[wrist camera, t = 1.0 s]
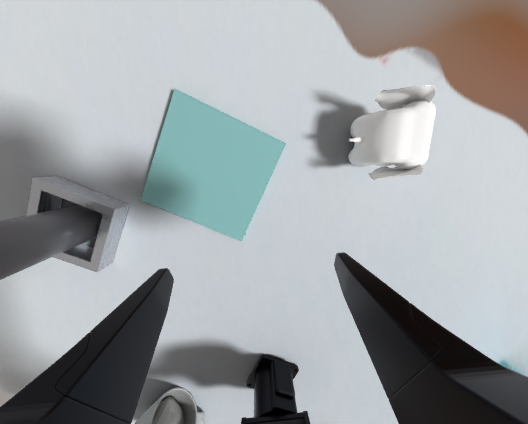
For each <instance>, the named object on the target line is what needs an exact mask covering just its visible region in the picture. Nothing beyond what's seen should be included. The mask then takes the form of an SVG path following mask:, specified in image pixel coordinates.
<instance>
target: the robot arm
mask: <svg viewBox="0 0 528 424" xmlns="http://www.w3.org/2000/svg"><path fill="white" fill-rule="evenodd" d="M334 266H335V270H336V273H337V276H338V280H339V283H340V286H341V289H342V292H343V295H344V298H345V300H346V302H347V305H348V307H349V309H350V312H351V314H352V316H353V319H354V321H355V323H356V325H357V328H358V330H359V332H360V335H361V337H362V339H363V342H364V344H365V346H366V349H367V351H368V353H369V355H370V358H371V360H372V362H373V365H374V367H375V369H376V372H377V374H378V376H379V378H380V381H381V383H382V385H383V388H384V390H385V392H386V395H387V397H388V399H389V402H390V404H391V406H392V409H393V411H394V413H395V416H396V418H397V420H398V423H399V424H528V377H526V376H524V375H521V374H519V373H516V372H514V371H512V370H510V369H508V368H506V367H504V366H502V365H500V364H498V363H497V362H495V361H493V360H492V359H490V358H488V357H487V356H485V355H484V354H482V353H481V352H479V351H478V350H476V349H475V348H473V347H472V346H470V345H469V344H468V343H466V342H465V341H463V340H462V339H460V338H459V337H457V336H456V335H454V334H453V333H451V332H450V331H448V330H447V329H445V328H444V327H442V326H441V325H440V324H438V323H437V322H435V321H434V320H432V319H431V318H430V317H428V316H427V315H426V314H424V313H423V312H422V311H420V310H419V309H418V308H416V307H415V306H414V305H412V304H411V303H409V302H408V301H407V300H406V299H405V298H403V297H402V296H401V295H399V294H398V293H397V292H395V291H394V290H393V289H392V288H390V287H389V286H388V285H386V284H385V283H384V282H383V281H381V280H380V279H379V278H377V277H376V276H375V275H373V274H372V273H371V272H370V271H368V270H367V269H366V268H364V267H363V266H362V265H360V264H359V263H358V262H357V261H355V260H354V259H353V258H351V257H350V256H349V255H347V254H346V253H337V254H336V258H335V263H334ZM173 282H174V279H173V276H172V275H171V273H170V271H169V269H167V268H165V269H159V270H158V271H157V272H156V273H154V274H153V275H152V276H151V277H150V278H149V279H148V280H147V281H146V282H144V283H143V284H142V285H141V286H140V287H139V288H138V289H137V290H136V291H135V292H133V293H132V294H131V295H130V296H129V297H128V298H127V299H126V300H125V301H123V302H122V303H121V304H120V305H119V306H118V307H117V308H116V309H115V310H114V311H112V312H111V313H110V314H109V315H108V316H107V317H106V318H105V319H104V320H103V321H101V322H100V323H99V324H98V325H97V326H96V327H95V328H94V329H93V330H91V332H90V333H88V334H87V335H86V336H85V337H84V338H83V339H81V340H80V341H79V342H78V343H77V344H76V345H75V346H74V347H72V348H71V349H70V350H69V351H68V352H67V353H66V354H64V355H63V356H62V357H61V358H60V359H58V360H57V361H56V362H55V363H54V364H53V365H51V366H50V367H49V368H48V369H47V370H45V371H44V372H43V373H42V374H40V375H39V376H38V377H37V378H36V379H34V380H33V381H32V382H31V383H29V384H28V385H27V386H26V387H25V388H23V389H22V390H21V391H20V392H18V393H17V394H16V395H15V396H14V397H12V398H11V399H10V400H9V401H7V402H6V403H5V404H4V405H2V406H1V407H0V424H131V422H132V419H133V416H134V413H135V410H136V407H137V404H138V400H139V397H140V394H141V391H142V388H143V385H144V382H145V379H146V376H147V373H148V370H149V366H150V363H151V360H152V357H153V354H154V351H155V348H156V345H157V342H158V339H159V335H160V332H161V329H162V326H163V323H164V320H165V317H166V314H167V310H168V306H169V301H170V296H171V292H172V287H173ZM298 371H299V369H298V366H297V365H294V364H290V363H287V362H284V361H281V360H278V359H275V358H272V357H269V356H266V355H262V356H261V357H260V359H259V361H258V363H257V364H256V366H255V368H254V370H253V371H252V373H251V375H250V377H249V379H248V380H247V387H250V388H253V389H254V418H246V417H244V418H242V421H241V424H310V421H309V417H308V413H307V411H303V412H301V413H297V408H296V402H295V391H294V385H293V379H294V377H295V376H296V374H297V373H298Z"/></svg>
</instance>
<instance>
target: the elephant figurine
mask: <svg viewBox="0 0 528 424" xmlns="http://www.w3.org/2000/svg"><path fill="white" fill-rule="evenodd" d="M435 94H436V90H435V87H433V86H431V85H421V86H414V87H408V88H401V89H394V90H383V91H382V92H381V93H380V94H379V95H378V96H377V98H376V100H375V101H378V103H379V105H380V106H381V107H382V108H384V109H387V110H384V111H379V112H375V113H370V114H365V115H362V116H360V117H358V118H357V119H356V120H355V121H354V122H353V123H352V125H351V136H352V137H353V138H352V139H349V141H350V142H351V141H352V142H355V146H354V148H353V150H352V151H351V152H350V154H349V161H350V162H351V163H352V164H353V165H355V166H367V165H371V164H374V165H377V166H389V165H395V166H397V167H395V168H388V167H381V168H378V169H376V170H374V171H373V172H372V173H369V175H370V177H371V178H372V179H380V178H388V177H397V176H405V175H418V174H421V173H422V171H423V168H422V166H421V165H423V164H424V163H425V162H426V161H427V159H428V155H429V148H430V142H431V136H432V130H433V124H434V119H435V113H436V109H435V105H434V104H433V103H432V102H431V101H432V100H433V98H434V97H435Z"/></svg>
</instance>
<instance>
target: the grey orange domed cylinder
mask: <svg viewBox="0 0 528 424" xmlns="http://www.w3.org/2000/svg"><path fill="white" fill-rule="evenodd" d="M102 216H103V215H102V213H100V212H97V211H94V210H92V209H89V208H87V207H84V206H81V205H75V206H70V207H66V208H61V209H56V210H52V211H47V212H42V213H38V214H33V215H28V216H24V217H19V218H15V219H10V220H5V221H1V222H0V280H1V279H3V278H5V277H7V276H10V275H12V274H14V273H17V272H19V271H21V270H23V269H26V268H28V267H30V266H32V265H35V264H37V263H39V262H41V261H44V260H46V259H48V258H51V257H53V256H55V255H57V254H60V253H62V252H64V251H66V250H69V249H71V248H73V247H75V246H78V245H80V244H82V243H85V242H87V241H89V240H91V239H94V238H96V237H97V235H98V231H99V228H100V224H101V220H102Z"/></svg>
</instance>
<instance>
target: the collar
mask: <svg viewBox="0 0 528 424" xmlns="http://www.w3.org/2000/svg"><path fill="white" fill-rule="evenodd" d="M63 199H66V200H68V201H71V202H74V203H76V204H79V205H81V206H84V207H87V208H89V209H92V210H94V211H97V212H100V213H102V214H103V216H102V220H101V224H100V228H99V231H98V235H97V239H96V243H95V246H94V248H93V247H90V246H87V245H85V244H80V245H78V246H75V247H73V248H71V249H69V250H66V251H64V252H62V253H60V254H57V255H55V256H53V257H54V258H57V259H60V260H63V261H66V262H69V263H72V264H75V265H77V266H80V267H83V268H86V269H89V270H92V271H95V272H98V271H100V270H101V269H103V268H104V267H106V266H107V265H109V264H110V263H112V262H113V260H114V257H115V253H116V250H117V247H118V243H119V240H120V237H121V233H122V230H123V226H124V223H125V220H126V216H127V213H128V209H129V206H130V205H129V204H127V203H124V202H122V201H119V200H117V199H114V198H112V197H109V196H107V195H104V194H102V193H99V192H97V191H94V190H92V189H89V188H86V187H84V186H81V185H79V184H76V183H74V182H71V181H69V180H66V179H64V178H61V177H59V176H49V177H32V183H31V189H30V195H29V201H28V207H27V213H26V216H28V215H33V214H38V213H42V212H47V211H52V210H56V209H61V204H62V200H63Z"/></svg>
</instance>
